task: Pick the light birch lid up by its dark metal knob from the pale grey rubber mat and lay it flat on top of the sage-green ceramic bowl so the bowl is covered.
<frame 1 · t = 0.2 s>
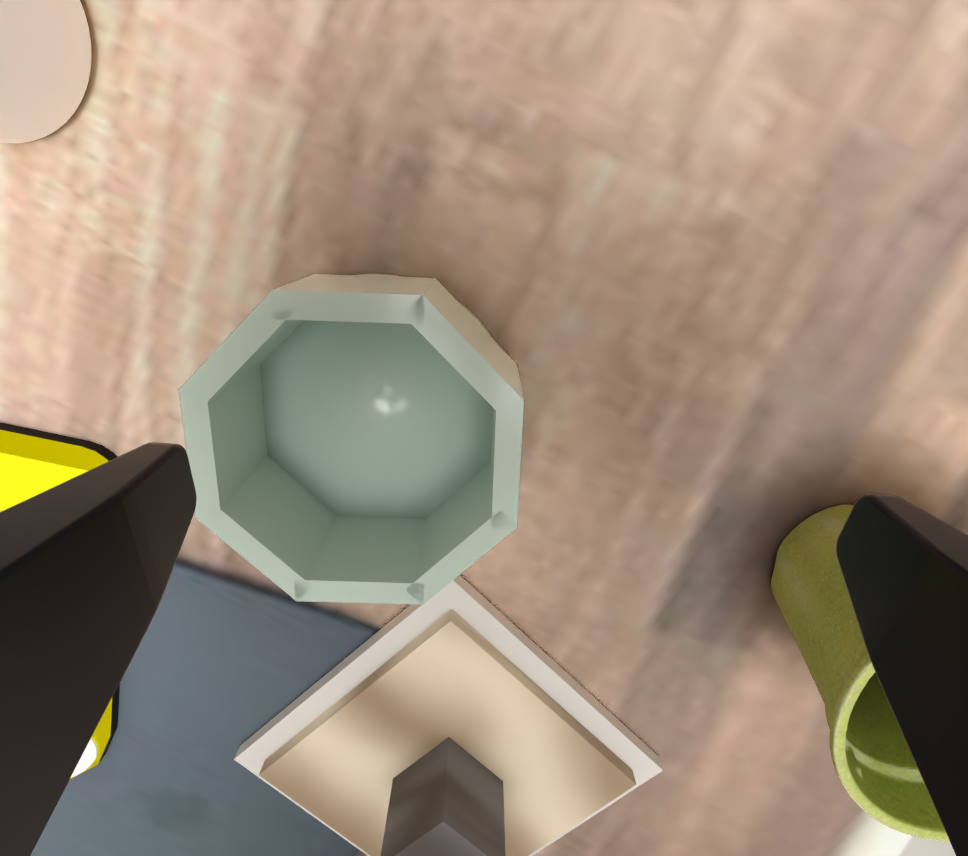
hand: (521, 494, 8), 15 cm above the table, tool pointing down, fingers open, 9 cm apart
plant pot: (837, 562, 27), on the table
can: (1, 36, 20), on the table
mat: (449, 750, 30), on the table
bowl: (382, 406, 24), on the table
lid: (449, 764, 29), point 1 cm above the table, touching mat
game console: (7, 600, 28), on the table
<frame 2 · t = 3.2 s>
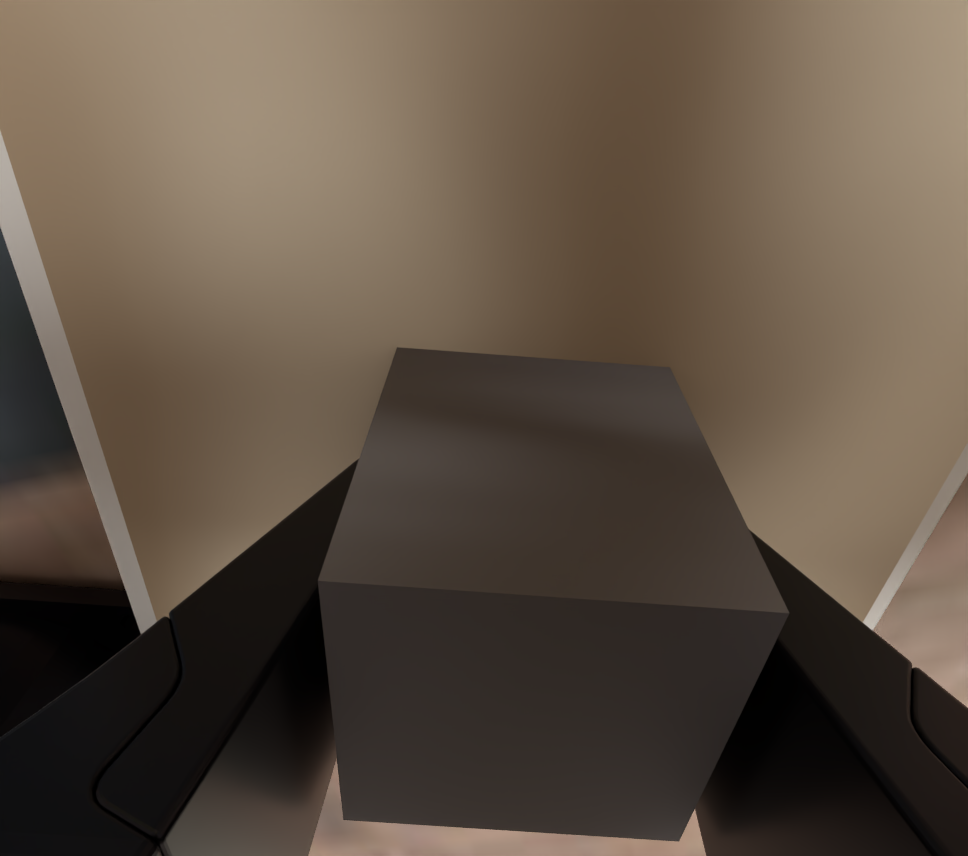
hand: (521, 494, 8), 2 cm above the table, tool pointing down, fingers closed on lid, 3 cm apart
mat: (518, 410, 10), on the table
lid: (519, 436, 10), point 1 cm above the table, touching gripper, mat
when the fingers open (8 cm above the table, at t = 7.2 s): lid drops 1 cm, resting on bowl.
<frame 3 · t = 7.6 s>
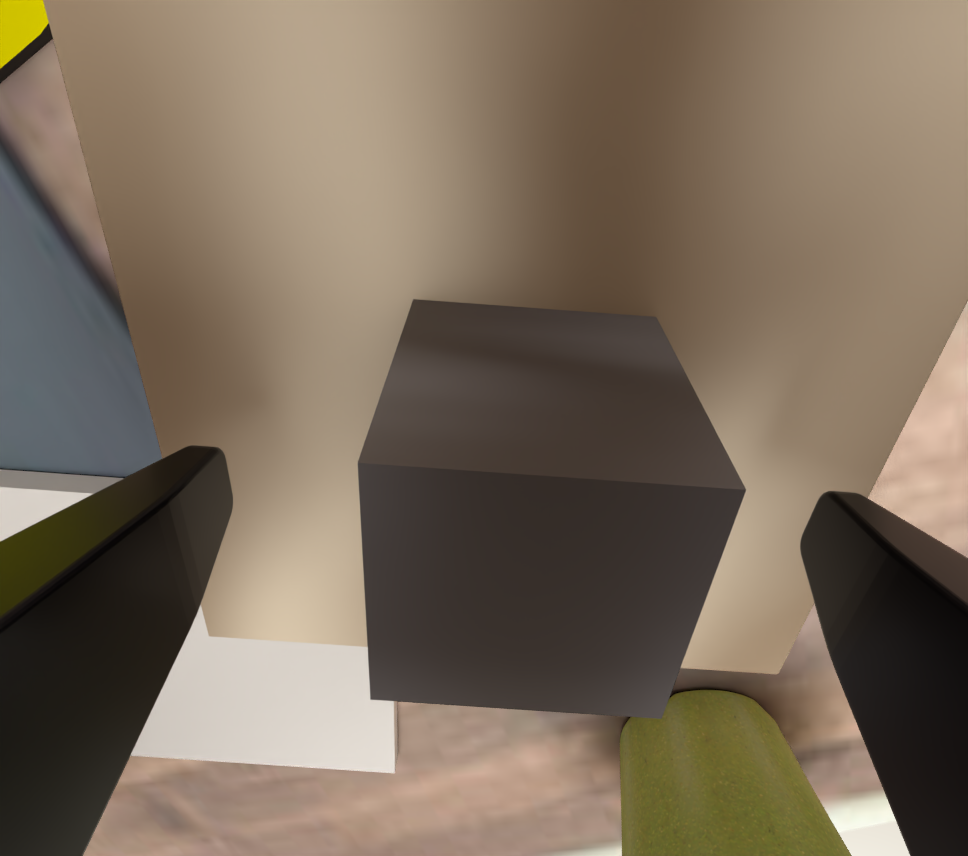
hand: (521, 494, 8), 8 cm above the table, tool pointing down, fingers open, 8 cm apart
plant pot: (694, 726, 25), on the table
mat: (204, 634, 23), on the table
lid: (521, 387, 11), point 5 cm above the table, touching bowl
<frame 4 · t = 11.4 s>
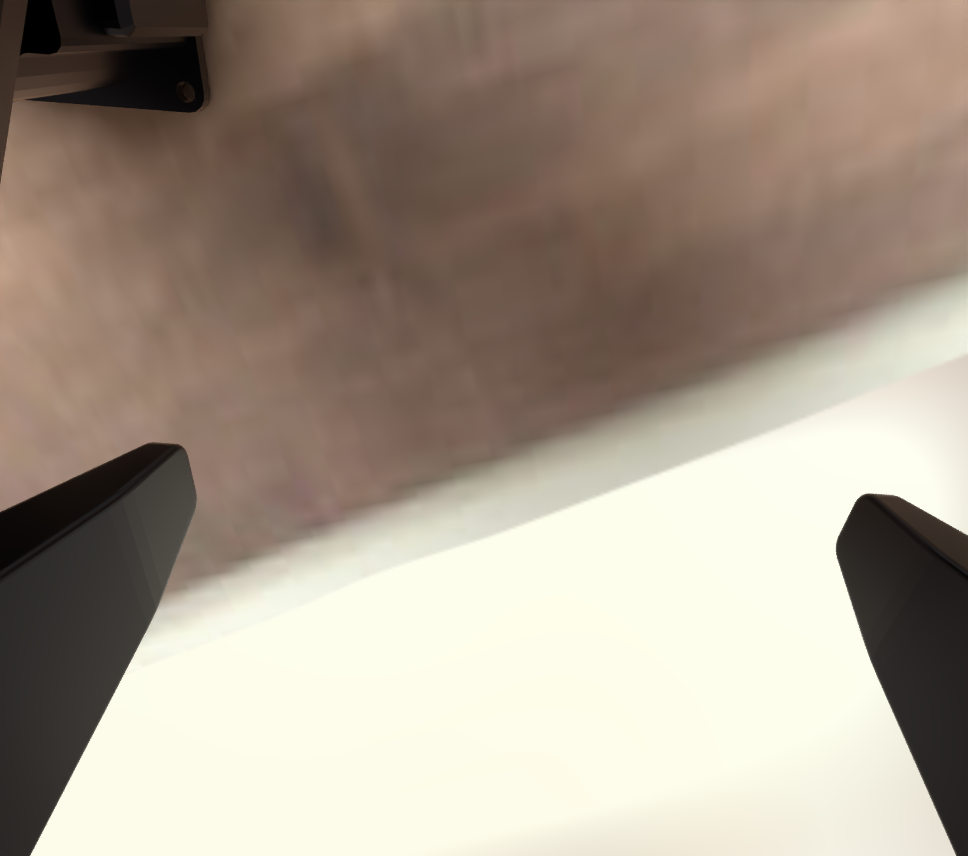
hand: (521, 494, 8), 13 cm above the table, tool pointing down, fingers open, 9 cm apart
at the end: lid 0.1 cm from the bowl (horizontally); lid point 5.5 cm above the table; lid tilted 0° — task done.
